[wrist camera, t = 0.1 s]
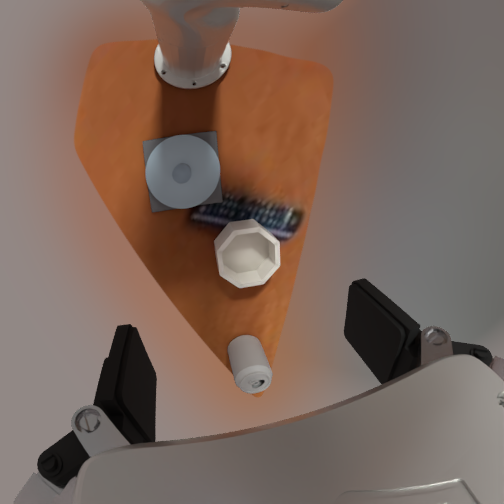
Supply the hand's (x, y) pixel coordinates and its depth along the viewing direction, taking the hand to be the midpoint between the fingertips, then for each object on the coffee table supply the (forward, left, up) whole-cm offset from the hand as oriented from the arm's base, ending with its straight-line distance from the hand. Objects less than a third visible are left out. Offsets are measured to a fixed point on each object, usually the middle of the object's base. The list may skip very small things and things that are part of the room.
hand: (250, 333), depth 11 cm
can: (+34, +4, -37) cm, 50 cm away
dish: (+11, +6, -37) cm, 39 cm away
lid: (-4, -3, -36) cm, 36 cm away
